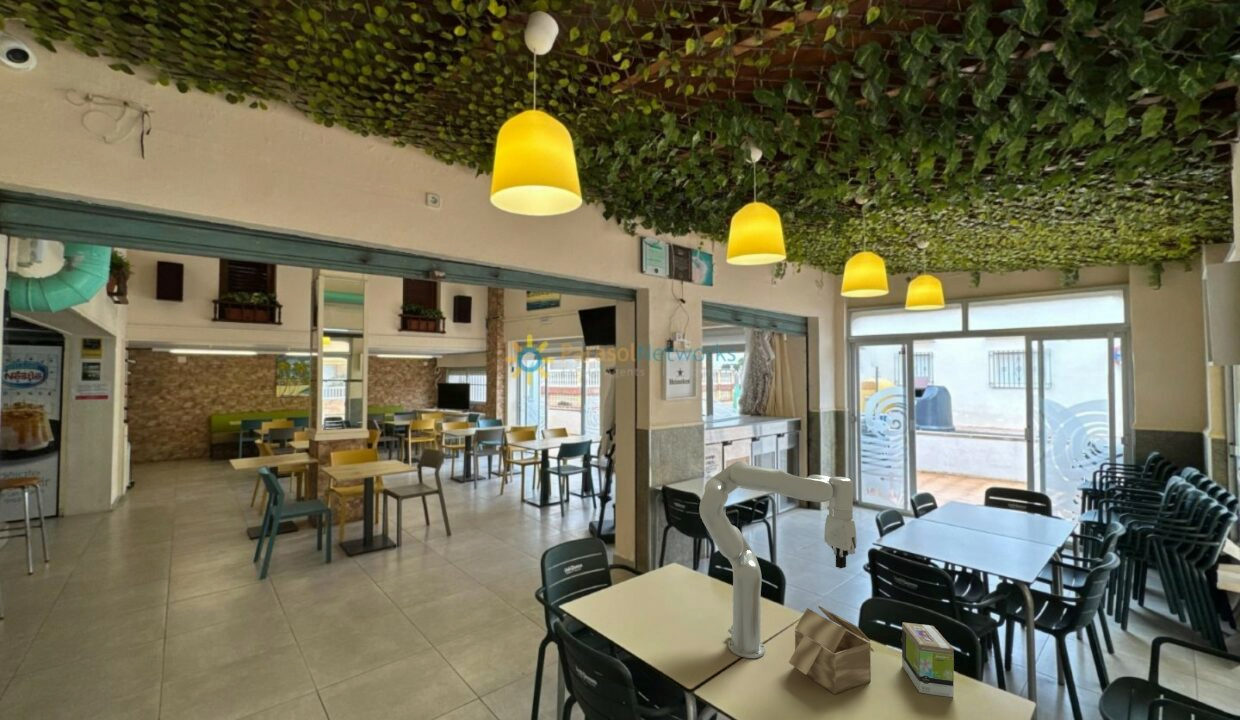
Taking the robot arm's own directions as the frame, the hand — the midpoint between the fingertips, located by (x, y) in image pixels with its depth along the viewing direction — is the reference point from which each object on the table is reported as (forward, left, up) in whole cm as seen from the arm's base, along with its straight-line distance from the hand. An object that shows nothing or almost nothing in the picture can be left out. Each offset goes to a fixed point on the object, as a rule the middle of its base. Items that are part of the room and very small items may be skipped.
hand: (840, 567), depth 169 cm
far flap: (+5, -2, -19) cm, 20 cm away
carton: (+5, -10, -31) cm, 33 cm away
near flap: (+5, -18, -19) cm, 27 cm away
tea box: (+20, +15, -31) cm, 40 cm away
